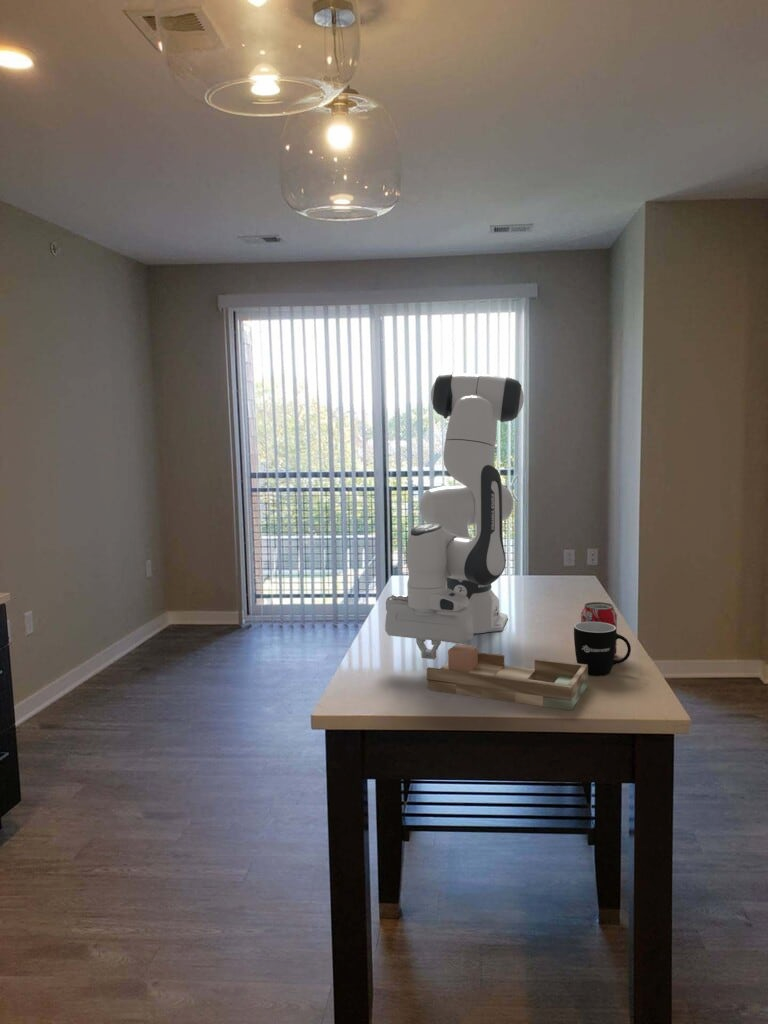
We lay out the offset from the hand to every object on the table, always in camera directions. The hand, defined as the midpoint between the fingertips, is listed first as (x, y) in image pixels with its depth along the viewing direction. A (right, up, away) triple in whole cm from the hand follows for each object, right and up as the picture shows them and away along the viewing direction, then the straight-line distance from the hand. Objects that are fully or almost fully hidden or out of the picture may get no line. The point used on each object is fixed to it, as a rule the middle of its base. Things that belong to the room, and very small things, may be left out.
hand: (428, 658), depth 168 cm
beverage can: (+41, -1, +9) cm, 42 cm away
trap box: (+16, -4, -11) cm, 20 cm away
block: (+7, -1, -4) cm, 8 cm away
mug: (+38, -3, -3) cm, 38 cm away
